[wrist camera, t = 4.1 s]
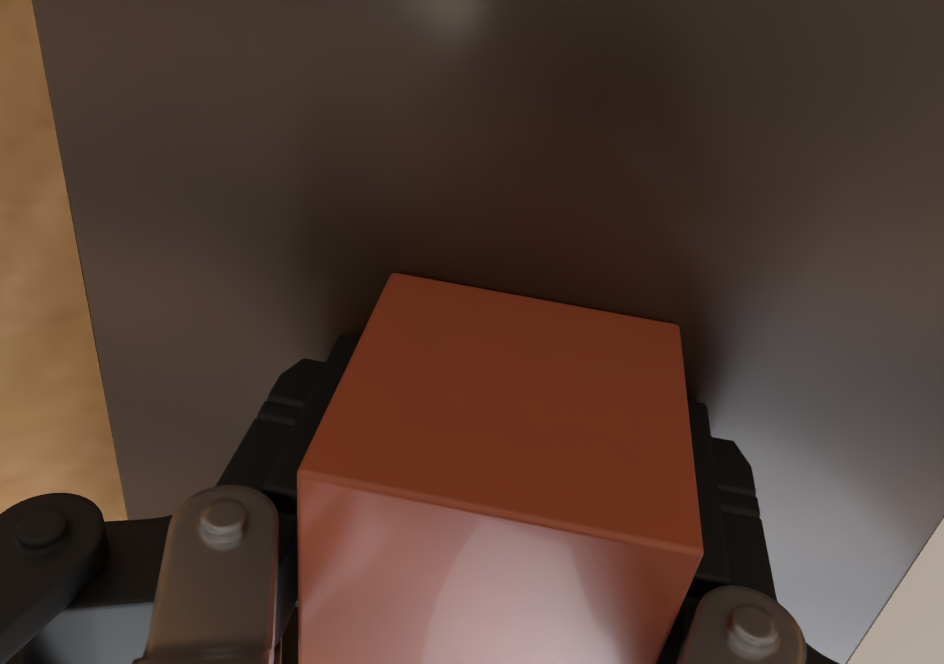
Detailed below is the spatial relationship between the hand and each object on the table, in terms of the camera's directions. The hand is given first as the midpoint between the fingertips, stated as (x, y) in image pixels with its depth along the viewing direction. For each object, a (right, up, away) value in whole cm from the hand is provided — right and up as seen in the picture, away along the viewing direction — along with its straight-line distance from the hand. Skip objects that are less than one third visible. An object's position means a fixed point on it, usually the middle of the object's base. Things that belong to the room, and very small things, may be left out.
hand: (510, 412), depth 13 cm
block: (0, 0, 0) cm, 0 cm away
